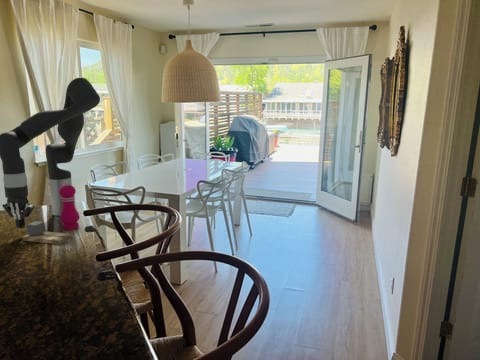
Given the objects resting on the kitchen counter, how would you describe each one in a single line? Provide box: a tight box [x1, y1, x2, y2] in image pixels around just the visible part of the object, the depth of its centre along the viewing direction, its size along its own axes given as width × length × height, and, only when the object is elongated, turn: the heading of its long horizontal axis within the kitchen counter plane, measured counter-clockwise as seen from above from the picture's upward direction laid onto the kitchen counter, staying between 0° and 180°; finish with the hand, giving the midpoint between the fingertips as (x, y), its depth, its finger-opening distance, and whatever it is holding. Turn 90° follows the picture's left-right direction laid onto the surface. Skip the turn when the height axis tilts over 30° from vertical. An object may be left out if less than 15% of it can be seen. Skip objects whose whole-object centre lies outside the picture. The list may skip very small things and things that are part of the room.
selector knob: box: [26, 220, 46, 235], centre depth 135 cm, size 4×4×4 cm
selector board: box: [22, 230, 73, 245], centre depth 135 cm, size 16×7×2 cm, turn 78°
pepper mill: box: [59, 182, 80, 231], centre depth 146 cm, size 7×7×20 cm
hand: (20, 227), depth 137 cm, fingers closed
